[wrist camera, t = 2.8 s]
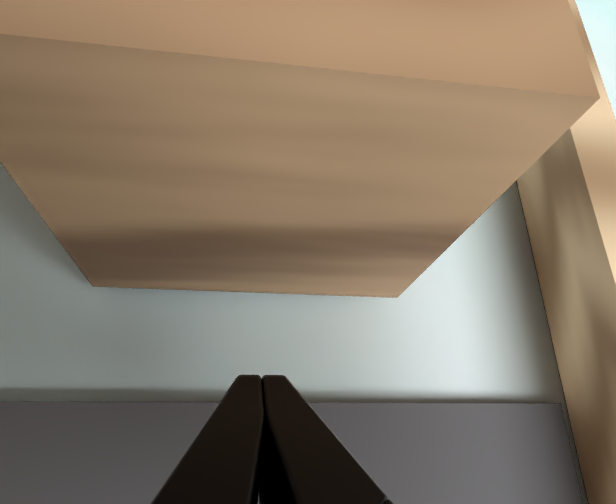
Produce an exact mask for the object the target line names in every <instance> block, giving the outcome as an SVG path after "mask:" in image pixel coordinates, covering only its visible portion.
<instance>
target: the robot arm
mask: <svg viewBox="0 0 616 504" xmlns="http://www.w3.org/2000/svg"><path fill="white" fill-rule="evenodd" d="M258 495H259V504H394V503H393V502H392V501H391V500H390V499H387V495H386V494H385V493H384V492H383V490H382V489H381V488H380V487H379V486H378V485H377V483H376V482H375V481H374V480H373V479H372V478H371V476H370V475H369V474H368V473H367V472H366V471H365V469H364V468H363V467H362V466H361V465H360V463H359V462H358V461H357V460H356V459H355V458H354V456H353V455H352V454H351V453H350V452H349V451H348V449H347V448H346V447H345V446H344V445H343V444H342V442H341V441H340V440H339V439H338V438H337V436H336V435H335V434H334V433H333V432H332V431H331V429H330V428H329V427H328V426H327V425H326V424H325V422H324V421H323V420H322V419H321V418H320V417H319V415H318V414H317V413H316V412H315V411H314V409H313V408H312V407H311V406H310V405H309V404H308V402H307V401H306V400H305V399H304V398H303V397H302V395H301V394H300V393H299V392H298V391H297V390H296V388H295V387H294V386H293V385H292V384H291V382H290V381H289V380H288V379H287V378H286V377H285V376H283V375H264V376H263V377H262V379H261V377H260V376H259V375H239V376H238V377H237V378H236V379H235V381H234V382H233V384H232V385H231V387H230V388H229V389H228V391H227V392H226V394H225V395H224V397H223V398H222V400H221V401H220V403H219V404H218V406H217V407H216V408H215V410H214V411H213V413H212V414H211V416H210V417H209V419H208V420H207V422H206V423H205V424H204V426H203V427H202V429H201V430H200V432H199V433H198V435H197V436H196V438H195V439H194V441H193V442H192V443H191V445H190V446H189V448H188V449H187V451H186V452H185V454H184V455H183V457H182V458H181V459H180V461H179V462H178V464H177V465H176V467H175V468H174V470H173V471H172V473H171V474H170V476H169V477H168V478H167V480H166V481H165V483H164V484H163V486H162V487H161V489H160V490H159V492H158V493H157V494H156V496H155V497H154V499H153V500H152V502H151V504H258Z"/></svg>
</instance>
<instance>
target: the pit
mask: <svg viewBox="0 0 616 504" xmlns="http://www.w3.org/2000/svg"><path fill="white" fill-rule="evenodd" d="M219 403H220V402H0V504H151V502H152V500H153V499H154V497H155V496H156V494H157V493H158V492H159V490H160V489H161V487H162V486H163V484H164V483H165V481H166V480H167V478H168V477H169V476H170V474H171V473H172V471H173V470H174V468H175V467H176V465H177V464H178V462H179V461H180V459H181V458H182V457H183V455H184V454H185V452H186V451H187V449H188V448H189V446H190V445H191V443H192V442H193V441H194V439H195V438H196V436H197V435H198V433H199V432H200V430H201V429H202V427H203V426H204V424H205V423H206V422H207V420H208V419H209V417H210V416H211V414H212V413H213V411H214V410H215V408H216V407H217V406H218V404H219ZM308 404H309V405H310V406H311V407H312V408H313V409H314V411H315V412H316V413H317V414H318V415H319V417H320V418H321V419H322V420H323V421H324V422H325V424H326V425H327V426H328V427H329V428H330V429H331V431H332V432H333V433H334V434H335V435H336V436H337V438H338V439H339V440H340V441H341V442H342V444H343V445H344V446H345V447H346V448H347V449H348V451H349V452H350V453H351V454H352V455H353V456H354V458H355V459H356V460H357V461H358V462H359V463H360V465H361V466H362V467H363V468H364V469H365V471H366V472H367V473H368V474H369V475H370V476H371V478H372V479H373V480H374V481H375V482H376V483H377V485H378V486H379V487H380V488H381V489H382V490H383V492H384V493H385V494H386V495H387V499H390V500H391V501H392V502H393V503H394V504H583V503H582V498H581V494H580V489H579V484H578V480H577V475H576V471H575V466H574V461H573V457H572V452H571V448H570V443H569V439H568V434H567V429H566V425H565V420H564V416H563V411H562V407H561V403H308ZM258 504H259V495H258Z"/></svg>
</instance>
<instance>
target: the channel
mask: <svg viewBox="0 0 616 504" xmlns="http://www.w3.org/2000/svg"><path fill="white" fill-rule="evenodd" d="M568 2H569V5H570V8H571V11H572V14H573V17H574V20H575V23H576V26H577V29H578V32H579V35H580V38H581V41H582V44H583V47H584V50H585V53H586V56H587V59H588V62H589V65H590V68H591V71H592V74H593V77H594V80H595V83H596V86H597V89H598V92H599V95H600V99H599V100H598V101H597V102H596V103H595V104H594V105H593V106H592V107H591V108H589V109H588V110H587V111H586V112H585V113H584V114H583V115H582V116H581V117H580V118H579V119H578V120H577V121H576V122H575V123H574V124H573V125H572V126H571V127H570V128H569V129H568V130H567V131H566V132H565V133H564V134H563V135H562V136H561V137H560V138H559V139H558V140H557V141H556V142H555V143H554V144H553V145H552V146H551V147H550V148H549V149H548V150H547V151H546V152H545V153H544V154H543V155H542V156H541V157H540V158H539V159H538V160H537V161H536V162H535V163H534V164H533V165H532V166H531V167H529V168H528V169H527V170H526V171H525V172H524V173H523V174H522V175H521V176H520V177H519V178H518V179H517V185H518V189H519V194H520V198H521V203H522V207H523V212H524V216H525V220H526V225H527V229H528V234H529V238H530V243H531V247H532V252H533V256H534V261H535V265H536V270H537V274H538V279H539V283H540V288H541V292H542V297H543V301H544V306H545V310H546V315H547V319H548V324H549V328H550V333H551V337H552V342H553V346H554V351H555V355H556V359H557V364H558V368H559V373H560V377H561V382H562V386H563V391H564V395H565V400H566V404H567V409H568V413H569V418H570V422H571V427H572V431H573V436H574V440H575V445H576V449H577V454H578V458H579V463H580V467H581V472H582V476H583V481H584V485H585V490H586V494H587V499H588V503H589V504H616V119H615V116H614V114H613V111H612V108H611V105H610V102H609V99H608V96H607V93H606V90H605V87H604V84H603V81H602V78H601V75H600V72H599V70H598V67H597V64H596V61H595V58H594V55H593V52H592V49H591V46H590V43H589V40H588V37H587V34H586V31H585V29H584V26H583V23H582V20H581V17H580V14H579V11H578V8H577V5H576V2H575V0H568Z"/></svg>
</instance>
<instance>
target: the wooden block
mask: <svg viewBox="0 0 616 504" xmlns="http://www.w3.org/2000/svg"><path fill="white" fill-rule="evenodd" d="M599 99H600V95H599V92H598V89H597V86H596V83H595V80H594V77H593V74H592V71H591V68H590V65H589V62H588V59H587V56H586V53H585V50H584V47H583V44H582V41H581V38H580V35H579V32H578V29H577V26H576V23H575V20H574V17H573V14H572V11H571V8H570V5H569V2H568V0H0V162H1V164H2V165H3V166H4V168H5V169H6V171H7V172H8V173H9V175H10V176H11V177H12V179H13V180H14V181H15V183H16V184H17V185H18V187H19V188H20V189H21V191H22V192H23V193H24V195H25V196H26V197H27V199H28V200H29V201H30V203H31V204H32V205H33V207H34V208H35V210H36V211H37V212H38V214H39V215H40V216H41V218H42V219H43V220H44V222H45V223H46V224H47V226H48V227H49V228H50V230H51V231H52V232H53V234H54V235H55V236H56V238H57V239H58V240H59V242H60V243H61V244H62V246H63V247H64V248H65V250H66V251H67V253H68V254H69V255H70V257H71V258H72V259H73V261H74V262H75V263H76V265H77V266H78V267H79V269H80V270H81V271H82V273H83V274H84V275H85V277H86V278H87V279H88V281H89V282H90V283H91V285H92V286H93V287H119V288H147V289H174V290H202V291H229V292H257V293H284V294H312V295H339V296H367V297H394V298H397V297H398V296H399V295H400V294H401V293H402V292H403V291H404V290H405V289H406V288H407V287H408V286H410V285H411V284H412V283H413V282H414V281H415V280H416V279H417V278H418V277H419V276H420V275H421V274H422V273H423V272H424V271H425V270H426V269H427V268H428V267H429V266H430V265H431V264H432V263H433V262H434V261H435V260H436V259H437V258H438V257H439V256H440V255H441V254H442V253H443V252H444V251H445V250H446V249H447V248H448V247H449V246H450V245H451V244H452V243H453V242H454V241H455V240H456V239H457V238H458V237H459V236H460V235H461V234H462V233H463V232H464V231H465V230H466V229H467V228H468V227H469V226H471V225H472V224H473V223H474V222H475V221H476V220H477V219H478V218H479V217H480V216H481V215H482V214H483V213H484V212H485V211H486V210H487V209H488V208H489V207H490V206H491V205H492V204H493V203H494V202H495V201H496V200H497V199H498V198H499V197H500V196H501V195H502V194H503V193H504V192H505V191H506V190H507V189H508V188H509V187H510V186H511V185H512V184H513V183H514V182H515V181H516V180H517V179H518V178H519V177H520V176H521V175H522V174H523V173H524V172H525V171H526V170H527V169H528V168H529V167H531V166H532V165H533V164H534V163H535V162H536V161H537V160H538V159H539V158H540V157H541V156H542V155H543V154H544V153H545V152H546V151H547V150H548V149H549V148H550V147H551V146H552V145H553V144H554V143H555V142H556V141H557V140H558V139H559V138H560V137H561V136H562V135H563V134H564V133H565V132H566V131H567V130H568V129H569V128H570V127H571V126H572V125H573V124H574V123H575V122H576V121H577V120H578V119H579V118H580V117H581V116H582V115H583V114H584V113H585V112H586V111H587V110H588V109H589V108H591V107H592V106H593V105H594V104H595V103H596V102H597V101H598V100H599Z"/></svg>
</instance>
